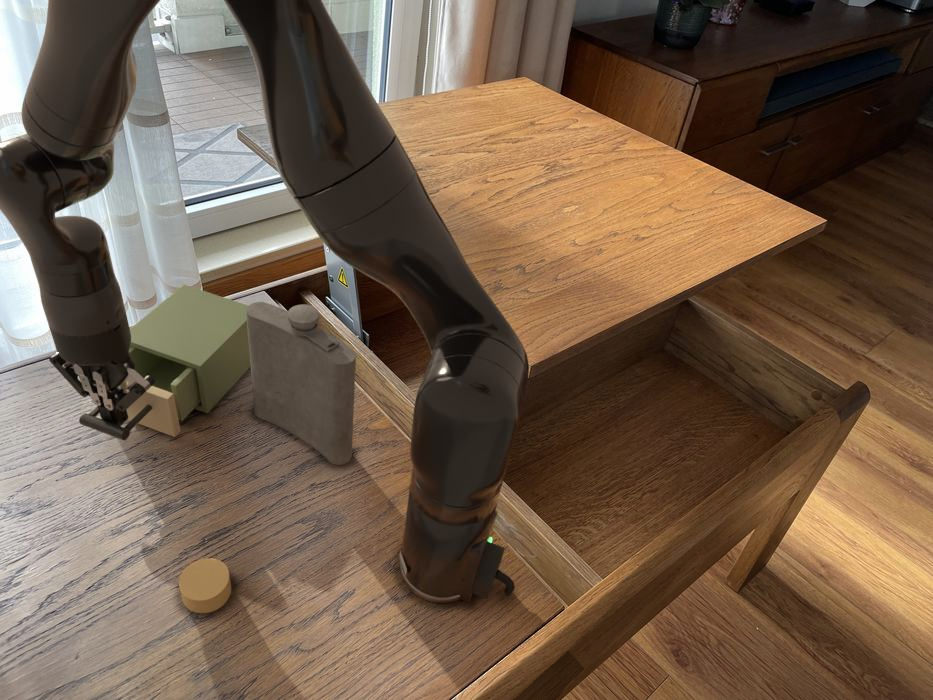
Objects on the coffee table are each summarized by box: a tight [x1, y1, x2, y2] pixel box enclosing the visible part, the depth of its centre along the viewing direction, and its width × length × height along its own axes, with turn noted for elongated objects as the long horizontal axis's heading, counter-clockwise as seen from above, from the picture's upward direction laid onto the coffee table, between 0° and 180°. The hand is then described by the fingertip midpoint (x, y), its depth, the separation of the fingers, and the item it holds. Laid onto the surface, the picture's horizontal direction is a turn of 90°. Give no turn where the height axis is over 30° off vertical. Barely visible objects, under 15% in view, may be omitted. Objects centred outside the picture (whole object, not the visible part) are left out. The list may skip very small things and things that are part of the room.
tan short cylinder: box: [178, 557, 232, 614], centre depth 76 cm, size 5×5×3 cm
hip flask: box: [246, 301, 357, 466], centre depth 89 cm, size 16×4×20 cm, turn 58°
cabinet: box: [129, 284, 251, 414], centre depth 99 cm, size 14×12×9 cm
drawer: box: [78, 346, 201, 441], centre depth 92 cm, size 18×11×7 cm, turn 161°
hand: (116, 423), depth 87 cm, fingers closed
